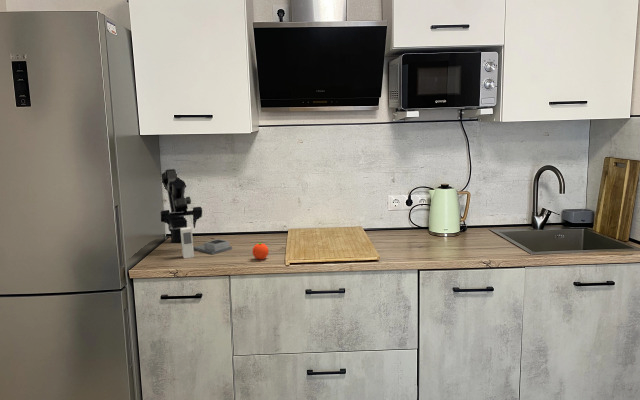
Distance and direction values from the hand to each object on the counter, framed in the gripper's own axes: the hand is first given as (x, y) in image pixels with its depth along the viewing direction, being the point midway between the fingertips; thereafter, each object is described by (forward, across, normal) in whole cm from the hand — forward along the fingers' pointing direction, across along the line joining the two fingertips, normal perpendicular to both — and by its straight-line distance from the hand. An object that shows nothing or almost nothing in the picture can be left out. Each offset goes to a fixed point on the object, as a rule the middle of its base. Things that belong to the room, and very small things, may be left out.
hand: (184, 228), depth 225 cm
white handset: (+12, 0, +5) cm, 13 cm away
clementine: (+28, +28, -10) cm, 40 cm away
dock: (+7, +12, +10) cm, 17 cm away
